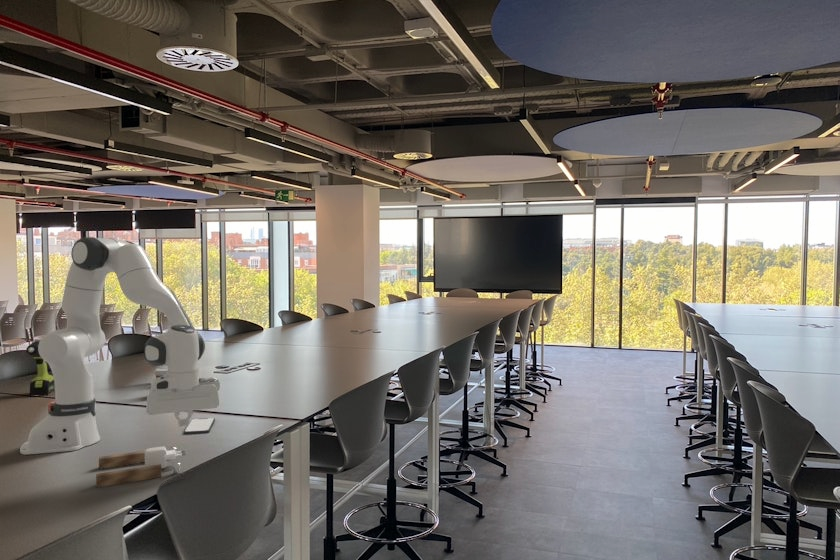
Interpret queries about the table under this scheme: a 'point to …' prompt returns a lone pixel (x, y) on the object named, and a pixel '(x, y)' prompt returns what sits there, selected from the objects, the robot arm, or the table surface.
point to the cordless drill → (40, 373)
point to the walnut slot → (127, 474)
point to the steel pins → (175, 464)
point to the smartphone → (199, 426)
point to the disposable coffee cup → (161, 372)
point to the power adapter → (160, 456)
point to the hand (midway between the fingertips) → (183, 425)
